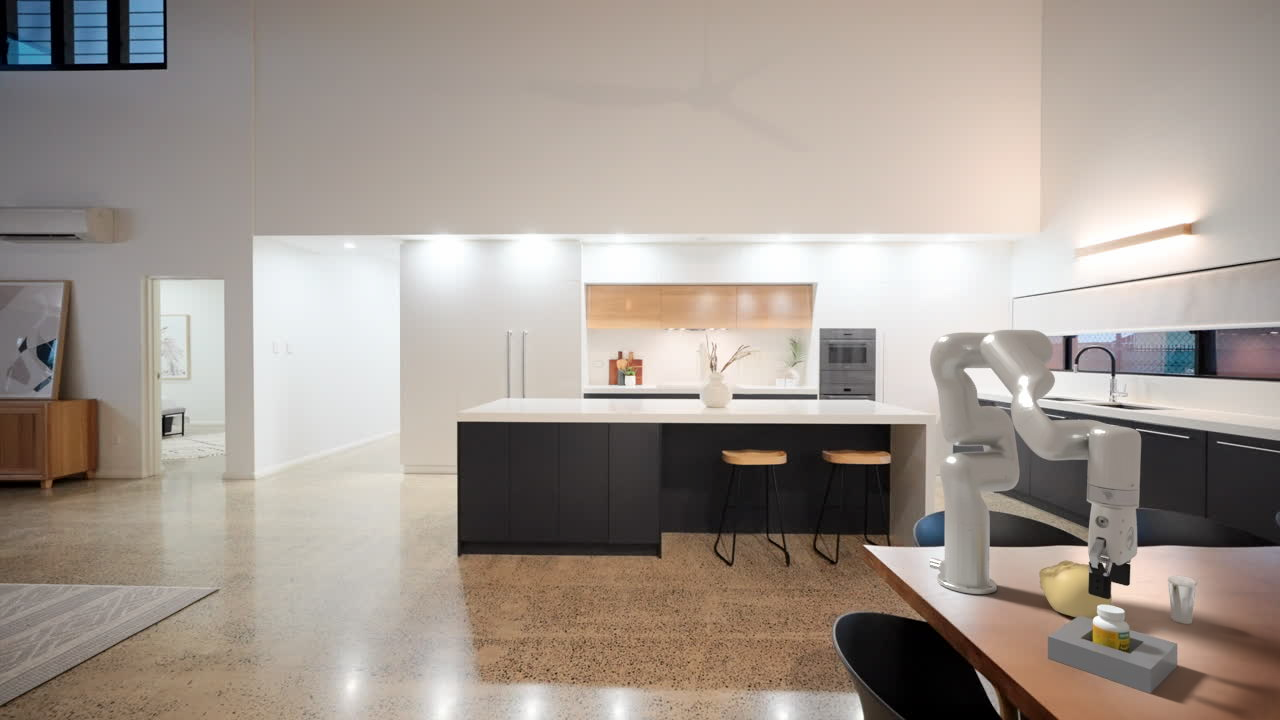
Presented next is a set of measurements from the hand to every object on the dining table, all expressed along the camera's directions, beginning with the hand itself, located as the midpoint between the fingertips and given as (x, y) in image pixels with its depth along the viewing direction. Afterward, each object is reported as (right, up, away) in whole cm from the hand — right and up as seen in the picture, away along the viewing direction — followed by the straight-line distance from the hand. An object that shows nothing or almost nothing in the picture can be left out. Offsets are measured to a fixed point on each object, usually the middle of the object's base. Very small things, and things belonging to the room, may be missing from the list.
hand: (1109, 589), depth 114 cm
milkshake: (+28, -13, +16) cm, 34 cm away
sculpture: (+8, -13, +21) cm, 26 cm away
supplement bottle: (0, -13, 0) cm, 13 cm away
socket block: (0, -13, 0) cm, 13 cm away
